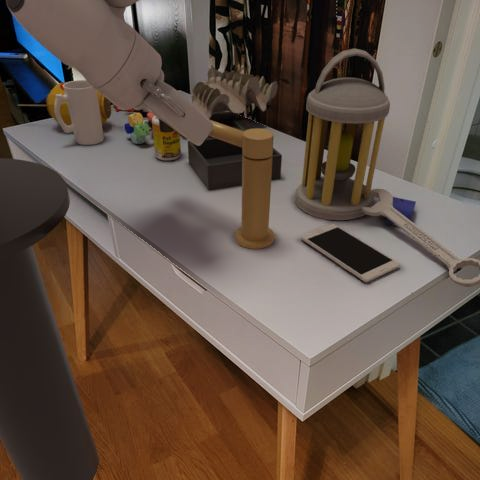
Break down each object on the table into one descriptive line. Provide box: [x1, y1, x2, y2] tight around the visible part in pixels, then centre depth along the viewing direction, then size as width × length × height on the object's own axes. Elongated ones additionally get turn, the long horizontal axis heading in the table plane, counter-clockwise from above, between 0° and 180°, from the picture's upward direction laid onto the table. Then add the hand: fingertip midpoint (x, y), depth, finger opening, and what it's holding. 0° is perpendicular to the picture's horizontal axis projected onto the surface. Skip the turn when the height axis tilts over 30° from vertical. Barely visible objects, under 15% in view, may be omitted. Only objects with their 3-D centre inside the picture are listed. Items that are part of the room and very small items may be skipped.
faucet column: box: [234, 155, 275, 250], centre depth 75 cm, size 6×6×14 cm
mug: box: [54, 79, 105, 146], centre depth 107 cm, size 10×7×12 cm, turn 130°
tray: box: [187, 137, 283, 191], centre depth 98 cm, size 15×13×5 cm
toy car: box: [215, 116, 257, 131], centre depth 114 cm, size 6×12×4 cm, turn 37°
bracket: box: [382, 196, 417, 226], centre depth 85 cm, size 9×5×3 cm, turn 158°
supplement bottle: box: [152, 116, 182, 162], centre depth 102 cm, size 6×6×10 cm
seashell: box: [191, 68, 279, 120], centre depth 117 cm, size 28×18×15 cm, turn 132°
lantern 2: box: [17, 81, 135, 127], centre depth 115 cm, size 10×10×30 cm
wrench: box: [361, 188, 480, 288], centre depth 77 cm, size 26×6×2 cm, turn 30°
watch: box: [135, 108, 150, 119], centre depth 124 cm, size 8×5×4 cm, turn 108°
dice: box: [123, 112, 150, 145], centre depth 109 cm, size 8×3×6 cm, turn 36°
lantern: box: [294, 48, 391, 221], centre depth 81 cm, size 14×14×25 cm
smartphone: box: [300, 223, 401, 283], centre depth 76 cm, size 8×1×15 cm
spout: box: [159, 119, 275, 159], centre depth 75 cm, size 24×4×5 cm, turn 47°
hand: (199, 135), depth 74 cm, fingers closed
